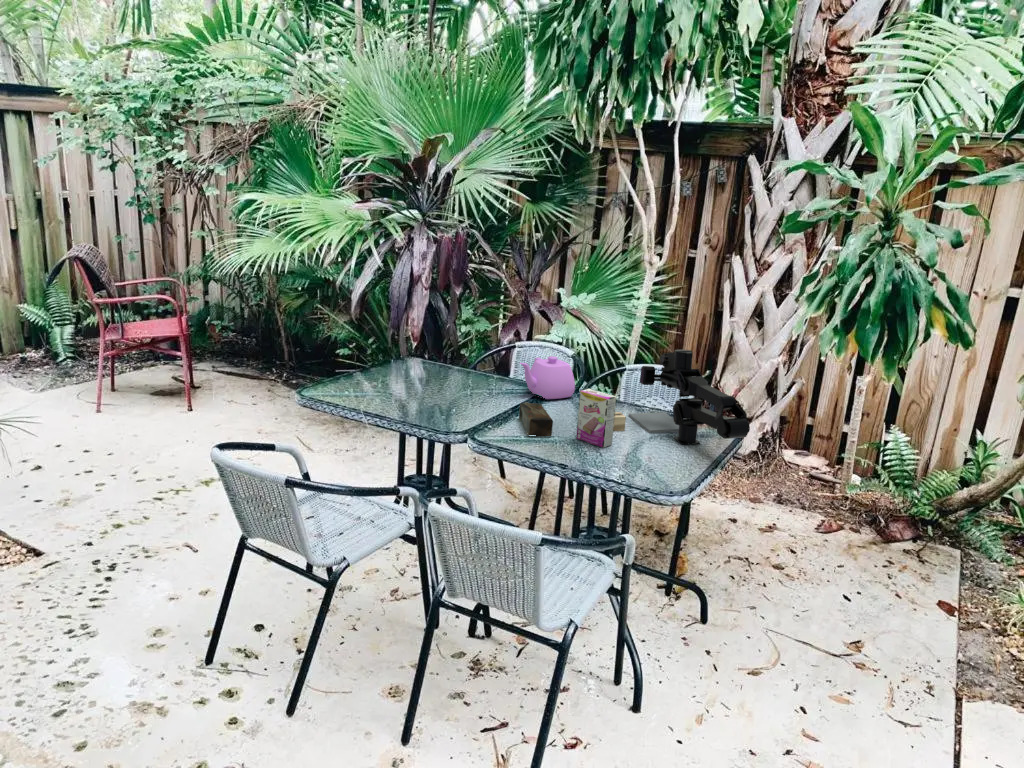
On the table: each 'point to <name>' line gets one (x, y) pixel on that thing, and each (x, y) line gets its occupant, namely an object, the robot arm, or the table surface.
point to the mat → (655, 422)
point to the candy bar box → (596, 417)
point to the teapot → (550, 378)
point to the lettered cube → (619, 422)
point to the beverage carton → (535, 419)
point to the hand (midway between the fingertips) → (654, 371)
